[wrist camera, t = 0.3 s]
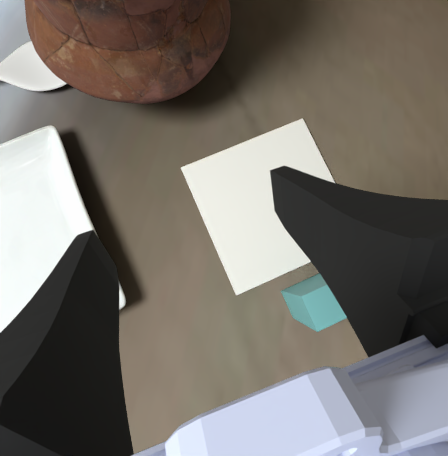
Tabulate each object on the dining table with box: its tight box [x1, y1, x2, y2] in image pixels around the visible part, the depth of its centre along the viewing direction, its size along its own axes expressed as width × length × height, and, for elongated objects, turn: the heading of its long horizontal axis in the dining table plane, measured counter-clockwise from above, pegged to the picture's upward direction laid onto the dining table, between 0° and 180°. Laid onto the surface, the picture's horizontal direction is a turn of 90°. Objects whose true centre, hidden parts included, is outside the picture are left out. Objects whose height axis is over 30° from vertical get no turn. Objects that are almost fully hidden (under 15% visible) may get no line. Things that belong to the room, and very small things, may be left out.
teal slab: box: [281, 273, 347, 332], centre depth 37 cm, size 4×8×10 cm, turn 114°
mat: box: [181, 118, 335, 295], centre depth 44 cm, size 20×20×1 cm
